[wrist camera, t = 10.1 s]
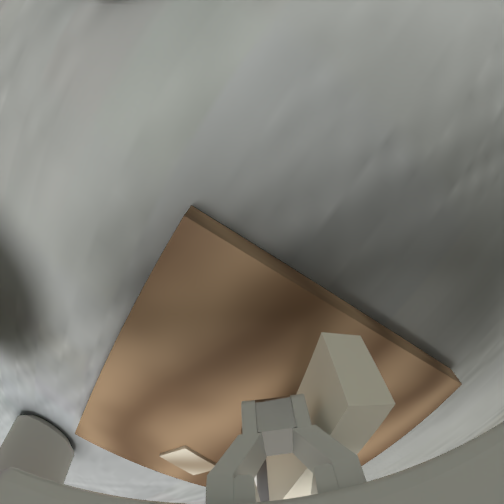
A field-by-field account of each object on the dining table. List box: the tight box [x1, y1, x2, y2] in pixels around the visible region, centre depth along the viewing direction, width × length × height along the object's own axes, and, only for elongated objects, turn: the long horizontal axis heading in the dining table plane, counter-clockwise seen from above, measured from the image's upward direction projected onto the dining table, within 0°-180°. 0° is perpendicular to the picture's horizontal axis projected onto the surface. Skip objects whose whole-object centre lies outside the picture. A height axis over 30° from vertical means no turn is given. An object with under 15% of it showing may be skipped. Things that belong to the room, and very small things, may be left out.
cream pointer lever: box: [254, 332, 395, 502], centre depth 15 cm, size 20×3×7 cm, turn 169°
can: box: [0, 415, 74, 484], centre depth 17 cm, size 8×8×12 cm
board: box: [75, 206, 461, 487], centre depth 20 cm, size 24×22×2 cm
